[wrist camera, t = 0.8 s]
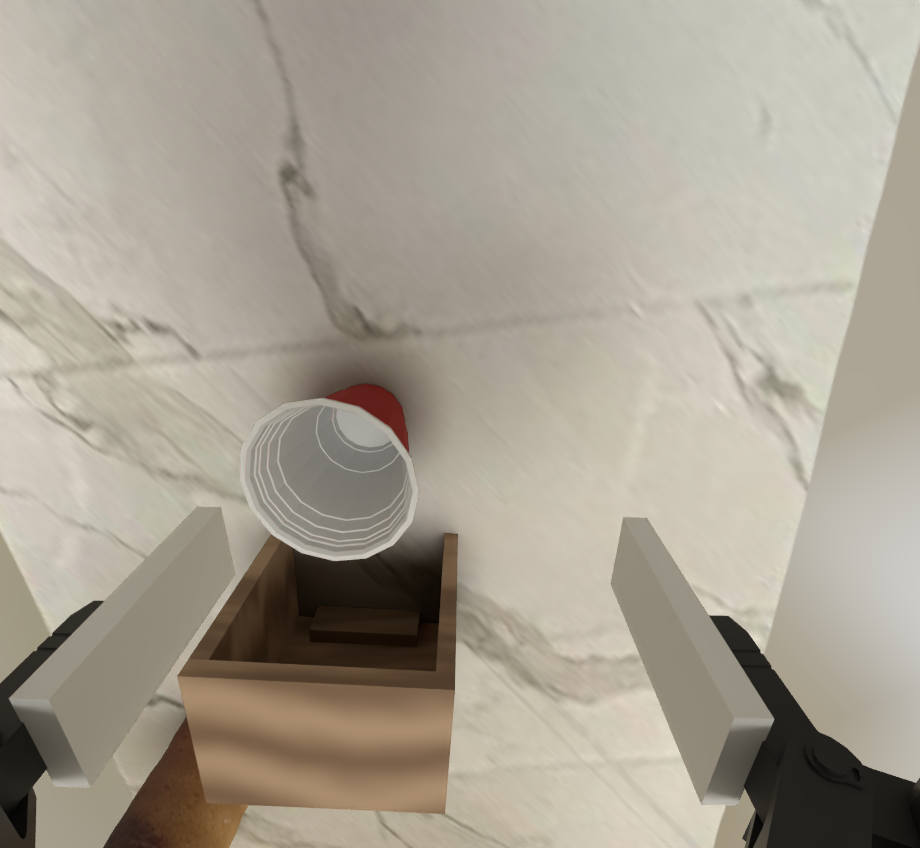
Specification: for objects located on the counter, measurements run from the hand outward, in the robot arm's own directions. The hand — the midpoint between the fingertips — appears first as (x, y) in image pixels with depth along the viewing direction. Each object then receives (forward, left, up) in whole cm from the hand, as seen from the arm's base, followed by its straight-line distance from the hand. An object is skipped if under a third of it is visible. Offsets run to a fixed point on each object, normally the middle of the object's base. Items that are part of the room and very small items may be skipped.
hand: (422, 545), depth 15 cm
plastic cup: (+4, -6, -23) cm, 24 cm away
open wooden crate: (+21, -6, -23) cm, 32 cm away
